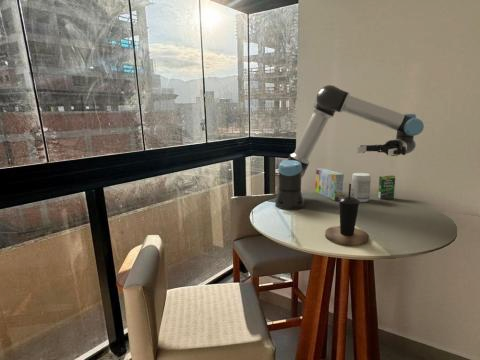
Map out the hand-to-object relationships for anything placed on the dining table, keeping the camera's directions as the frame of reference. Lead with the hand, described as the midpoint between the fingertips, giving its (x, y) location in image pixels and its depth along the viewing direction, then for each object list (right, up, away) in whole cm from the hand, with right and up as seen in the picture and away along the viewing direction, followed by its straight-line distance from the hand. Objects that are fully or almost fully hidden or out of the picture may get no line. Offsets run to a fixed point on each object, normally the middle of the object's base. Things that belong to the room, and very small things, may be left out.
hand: (372, 151), depth 126 cm
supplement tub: (+10, -24, +38) cm, 46 cm away
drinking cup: (-15, -34, -12) cm, 39 cm away
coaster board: (-16, -35, -11) cm, 40 cm away
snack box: (-5, -22, +48) cm, 53 cm away
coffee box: (+25, -23, +40) cm, 53 cm away
